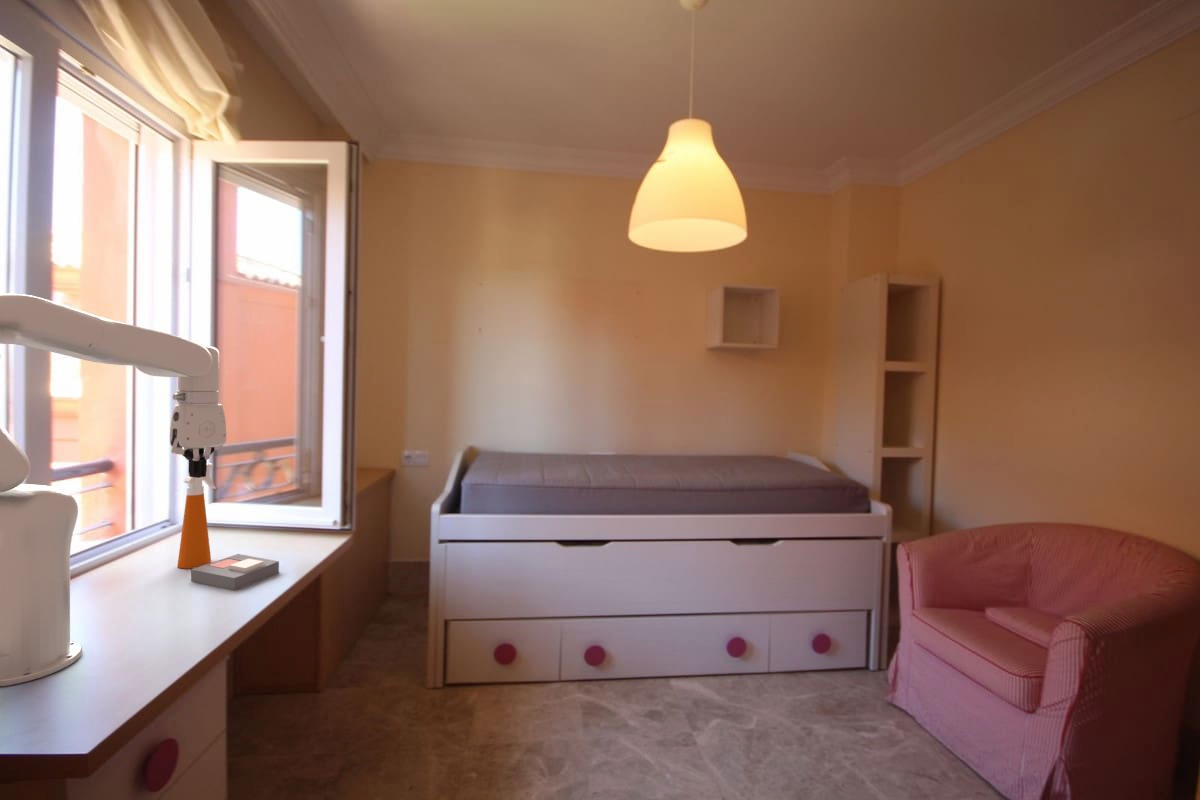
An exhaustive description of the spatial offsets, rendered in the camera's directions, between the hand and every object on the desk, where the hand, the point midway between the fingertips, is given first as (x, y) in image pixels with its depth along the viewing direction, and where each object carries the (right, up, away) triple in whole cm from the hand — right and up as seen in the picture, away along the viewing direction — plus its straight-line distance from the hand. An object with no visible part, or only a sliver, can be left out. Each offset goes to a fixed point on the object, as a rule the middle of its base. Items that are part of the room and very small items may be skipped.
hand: (197, 476), depth 120 cm
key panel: (+2, -27, +9) cm, 29 cm away
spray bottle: (-14, -26, +18) cm, 35 cm away
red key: (-1, -26, +10) cm, 28 cm away
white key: (+6, -25, +8) cm, 27 cm away
